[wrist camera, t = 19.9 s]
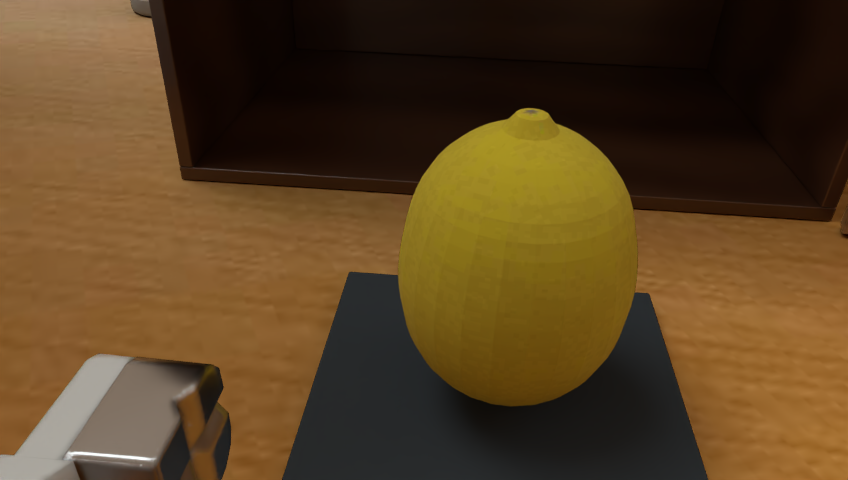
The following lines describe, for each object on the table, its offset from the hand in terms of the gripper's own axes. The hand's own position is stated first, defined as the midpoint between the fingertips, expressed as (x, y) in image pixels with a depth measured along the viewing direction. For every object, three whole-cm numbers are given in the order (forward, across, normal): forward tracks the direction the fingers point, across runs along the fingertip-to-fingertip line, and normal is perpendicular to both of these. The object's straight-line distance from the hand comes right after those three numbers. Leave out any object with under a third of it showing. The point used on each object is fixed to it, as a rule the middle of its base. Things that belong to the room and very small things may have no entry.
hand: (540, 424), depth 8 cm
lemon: (+7, 0, +7) cm, 10 cm away
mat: (+7, 0, +7) cm, 10 cm away
